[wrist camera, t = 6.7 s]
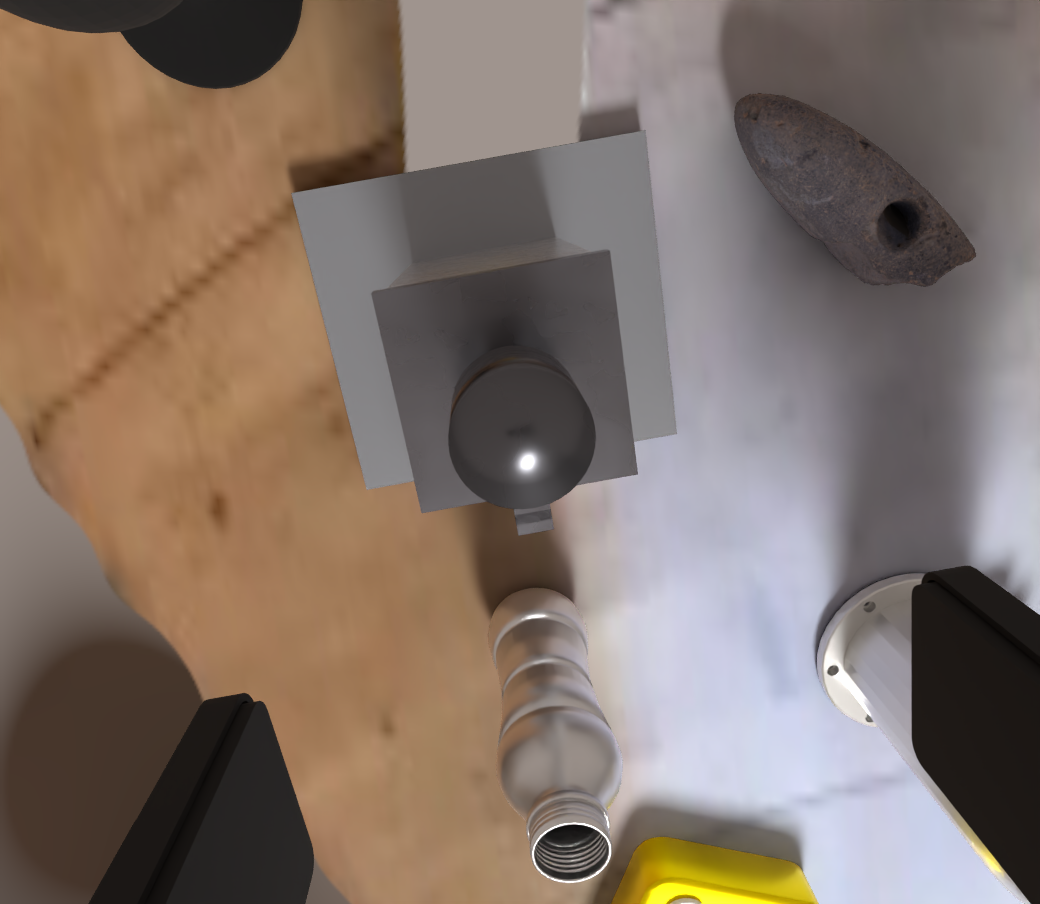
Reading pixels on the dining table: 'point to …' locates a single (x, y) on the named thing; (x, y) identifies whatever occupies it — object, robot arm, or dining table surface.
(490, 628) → the plastic bottle
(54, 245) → the dining table surface
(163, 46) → the wine glass
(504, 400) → the dark grey cylinder
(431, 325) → the grey block
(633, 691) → the dining table surface
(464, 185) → the grey board
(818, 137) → the perforated stone tool
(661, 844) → the element tile
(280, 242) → the dining table surface
